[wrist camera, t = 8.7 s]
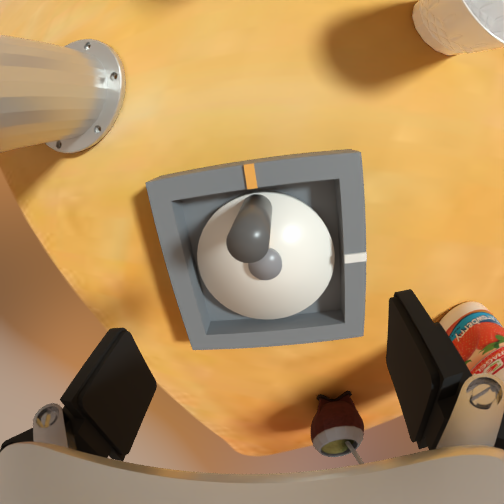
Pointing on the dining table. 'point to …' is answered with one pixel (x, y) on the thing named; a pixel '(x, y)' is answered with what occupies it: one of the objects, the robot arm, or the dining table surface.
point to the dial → (266, 255)
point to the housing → (280, 180)
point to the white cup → (460, 25)
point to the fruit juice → (476, 338)
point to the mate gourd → (337, 427)
